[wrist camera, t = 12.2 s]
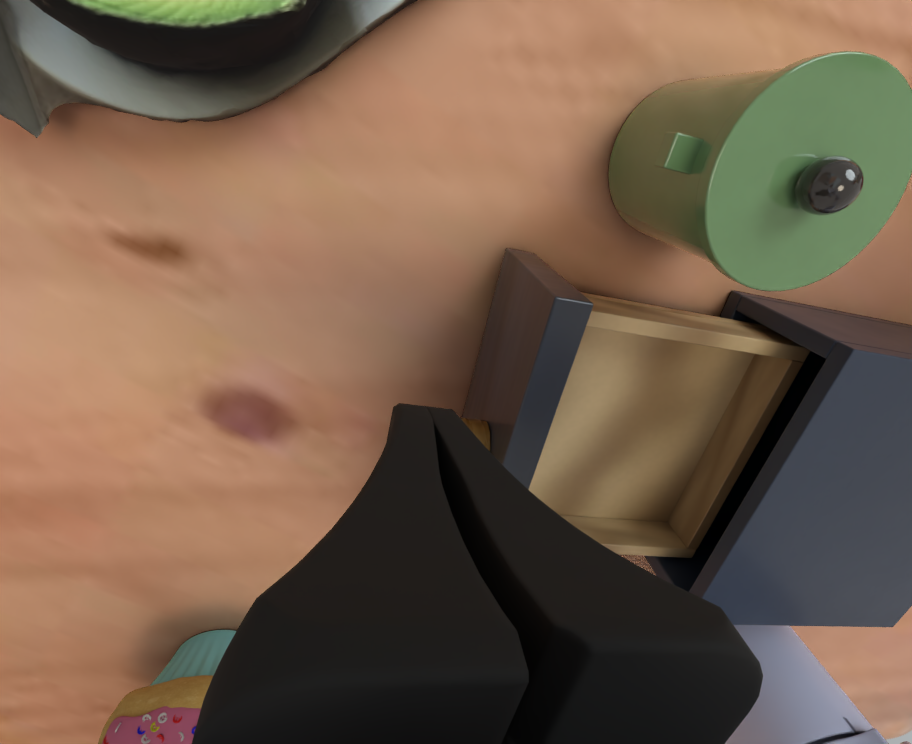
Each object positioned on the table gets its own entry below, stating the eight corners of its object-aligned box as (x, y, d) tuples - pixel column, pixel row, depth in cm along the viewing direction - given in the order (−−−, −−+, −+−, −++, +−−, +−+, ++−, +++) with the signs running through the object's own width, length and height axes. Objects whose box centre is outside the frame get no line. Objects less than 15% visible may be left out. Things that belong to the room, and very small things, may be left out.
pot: (721, 256, 21) (893, 324, 14) (567, 222, 19) (675, 282, 12) (791, 100, 18) (1041, 90, 11) (620, 47, 16) (793, -1, 10)
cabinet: (622, 521, 27) (685, 624, 21) (731, 289, 21) (854, 349, 16) (797, 533, 29) (893, 627, 24) (934, 329, 24) (1100, 392, 18)
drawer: (407, 512, 24) (417, 621, 19) (470, 240, 18) (507, 288, 13) (653, 528, 27) (719, 625, 22) (770, 298, 21) (895, 356, 16)
